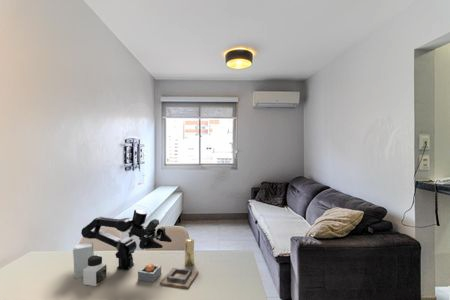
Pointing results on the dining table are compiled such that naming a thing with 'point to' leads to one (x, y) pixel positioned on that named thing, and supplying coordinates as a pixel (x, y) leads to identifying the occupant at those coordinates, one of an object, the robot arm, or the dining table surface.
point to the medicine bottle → (94, 271)
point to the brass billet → (189, 252)
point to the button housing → (149, 274)
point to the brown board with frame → (179, 278)
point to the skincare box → (81, 258)
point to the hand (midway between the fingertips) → (167, 243)
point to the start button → (150, 268)
